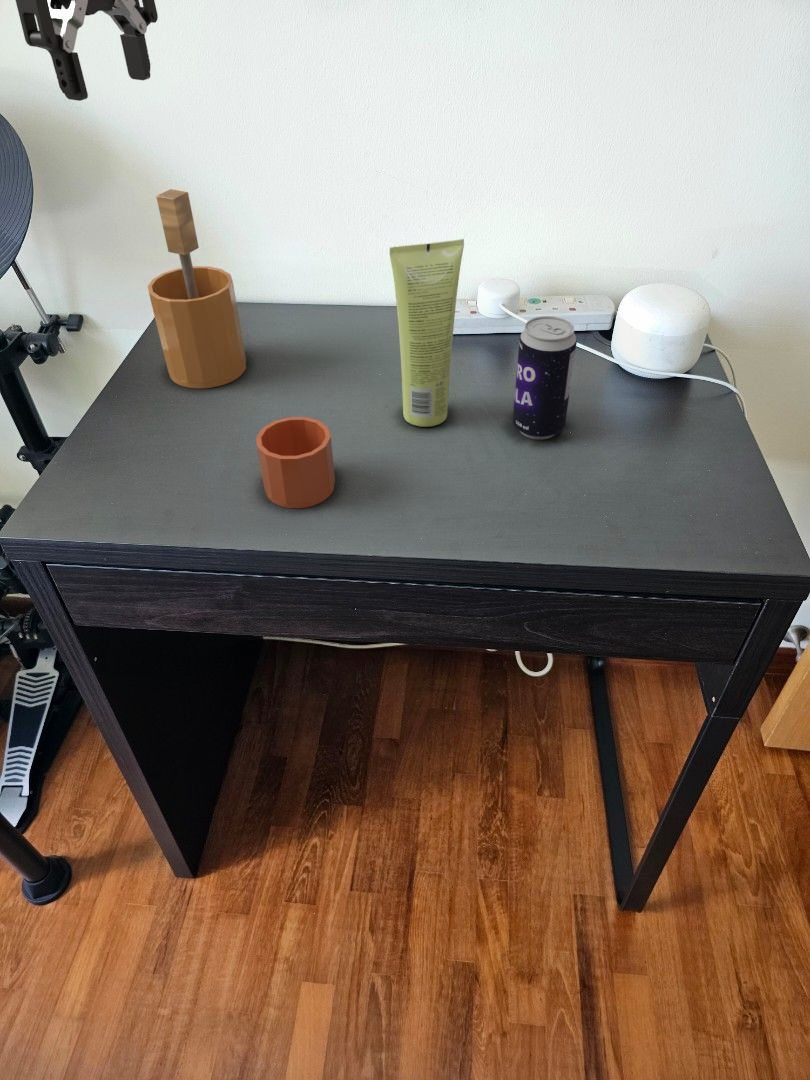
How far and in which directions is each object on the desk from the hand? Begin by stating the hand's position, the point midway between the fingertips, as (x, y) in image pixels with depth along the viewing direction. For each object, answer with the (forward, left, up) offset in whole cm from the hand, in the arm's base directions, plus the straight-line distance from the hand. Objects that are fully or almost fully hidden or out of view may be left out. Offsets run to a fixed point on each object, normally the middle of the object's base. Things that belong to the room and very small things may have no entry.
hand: (109, 88), depth 75 cm
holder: (-12, -25, -31) cm, 42 cm away
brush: (+3, -2, -30) cm, 31 cm away
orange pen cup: (+3, -2, -31) cm, 31 cm away
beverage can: (+8, -43, -31) cm, 54 cm away
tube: (+5, -31, -31) cm, 44 cm away
